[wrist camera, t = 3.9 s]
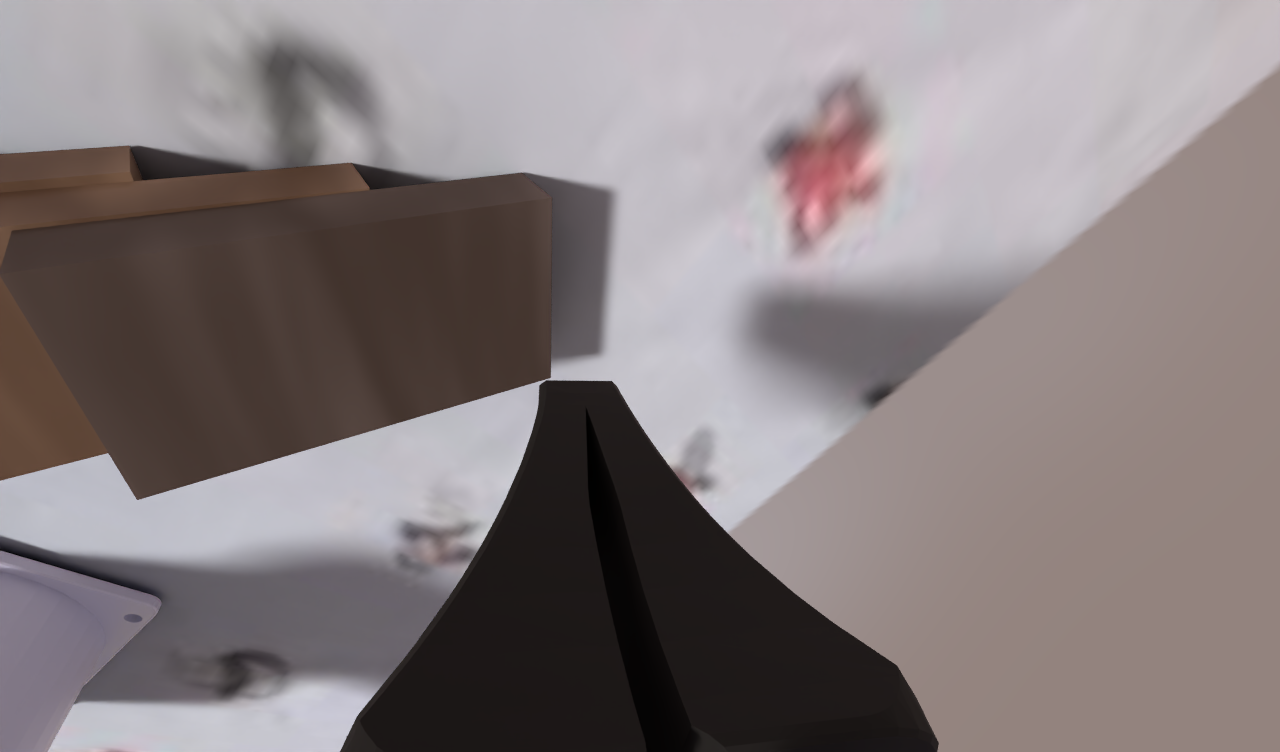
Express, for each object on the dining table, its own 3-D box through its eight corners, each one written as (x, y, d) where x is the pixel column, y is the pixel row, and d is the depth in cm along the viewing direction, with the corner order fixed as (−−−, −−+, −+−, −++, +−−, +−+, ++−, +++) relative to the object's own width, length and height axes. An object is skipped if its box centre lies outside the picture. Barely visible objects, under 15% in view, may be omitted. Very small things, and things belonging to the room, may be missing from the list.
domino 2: (551, 197, 13) (-1, 274, 9) (550, 377, 16) (136, 500, 12) (521, 172, 14) (11, 230, 10) (525, 346, 17) (136, 448, 13)
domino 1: (369, 187, 13) (-326, 260, 8) (401, 377, 16) (-95, 504, 11) (351, 162, 14) (-276, 215, 9) (385, 345, 17) (-76, 450, 12)
